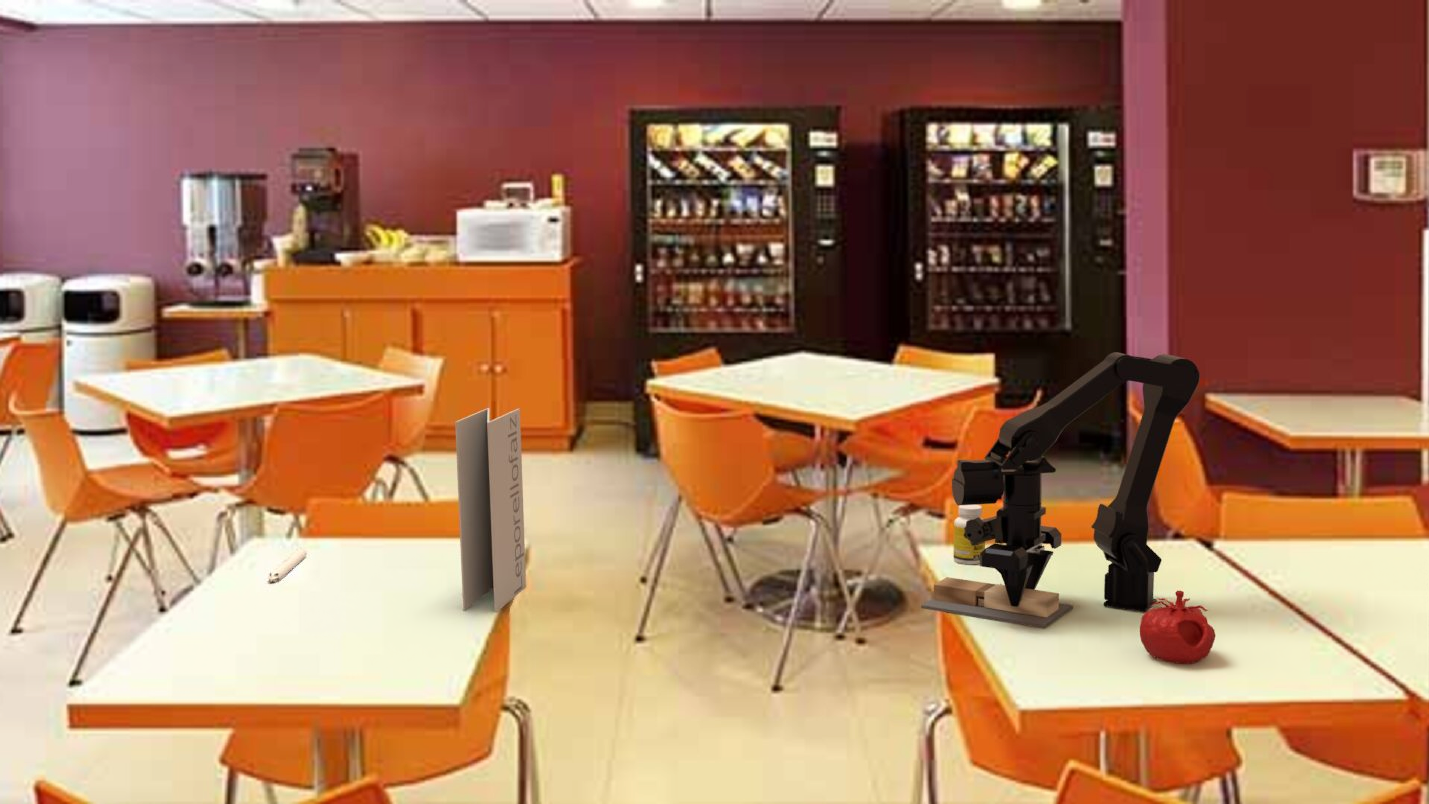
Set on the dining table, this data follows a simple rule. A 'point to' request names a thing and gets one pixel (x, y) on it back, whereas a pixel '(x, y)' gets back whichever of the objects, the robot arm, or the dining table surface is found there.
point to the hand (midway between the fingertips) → (1021, 601)
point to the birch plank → (1021, 601)
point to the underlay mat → (997, 613)
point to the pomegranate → (1177, 632)
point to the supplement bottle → (961, 544)
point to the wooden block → (960, 591)
